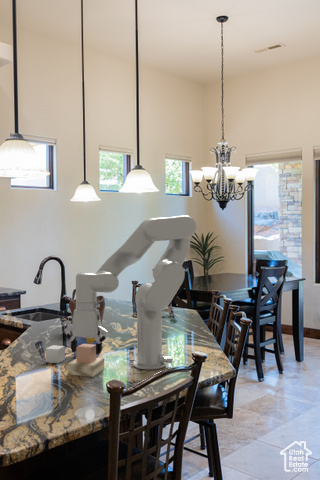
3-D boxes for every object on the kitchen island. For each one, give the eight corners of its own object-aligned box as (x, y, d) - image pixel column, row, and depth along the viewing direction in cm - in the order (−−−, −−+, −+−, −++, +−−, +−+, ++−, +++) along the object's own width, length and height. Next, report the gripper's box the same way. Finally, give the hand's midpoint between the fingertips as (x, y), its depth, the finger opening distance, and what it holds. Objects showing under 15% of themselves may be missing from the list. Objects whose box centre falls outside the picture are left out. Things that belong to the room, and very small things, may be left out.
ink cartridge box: (73, 357, 196) (73, 322, 196) (76, 354, 202) (76, 319, 202) (97, 358, 196) (97, 322, 195) (99, 354, 201) (99, 320, 201)
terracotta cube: (96, 359, 179) (96, 344, 179) (90, 363, 174) (90, 348, 173) (82, 358, 180) (82, 343, 180) (76, 362, 175) (76, 347, 175)
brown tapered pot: (60, 333, 242) (60, 297, 241) (84, 326, 260) (84, 293, 259) (89, 337, 234) (89, 300, 233) (111, 330, 251) (112, 295, 251)
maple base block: (104, 368, 180) (104, 358, 180) (93, 376, 171) (93, 365, 171) (79, 366, 183) (79, 356, 183) (67, 374, 174) (67, 363, 174)
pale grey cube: (64, 359, 194) (64, 346, 193) (58, 363, 188) (58, 349, 188) (52, 358, 195) (52, 345, 195) (45, 362, 190) (45, 348, 190)
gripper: (112, 305, 178) (112, 351, 178) (69, 303, 182) (69, 348, 183) (104, 309, 171) (104, 357, 171) (60, 306, 175) (60, 353, 176)
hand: (86, 352), depth 177 cm, fingers open, 9 cm apart
